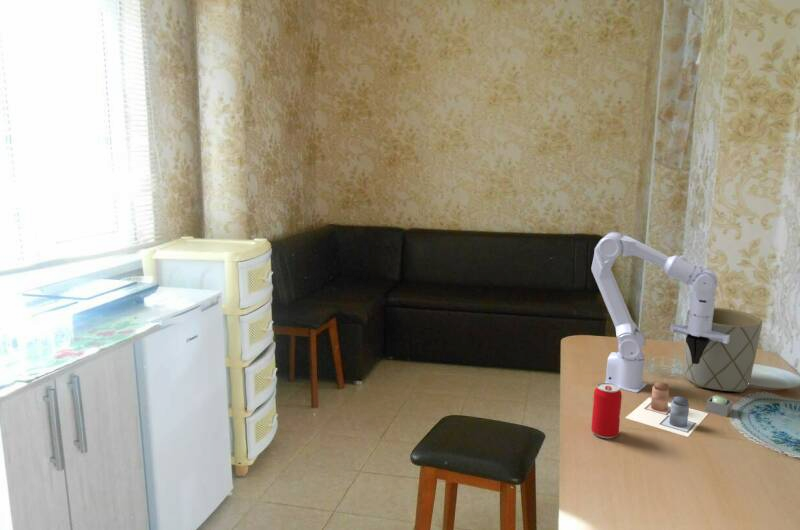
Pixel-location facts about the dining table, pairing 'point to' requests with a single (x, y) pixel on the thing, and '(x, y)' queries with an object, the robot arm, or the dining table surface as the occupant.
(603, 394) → the beverage can
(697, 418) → the picture sheet
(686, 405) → the blue gray jar
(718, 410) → the button housing
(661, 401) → the brown jar
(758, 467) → the dining table surface
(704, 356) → the planter
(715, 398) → the button
